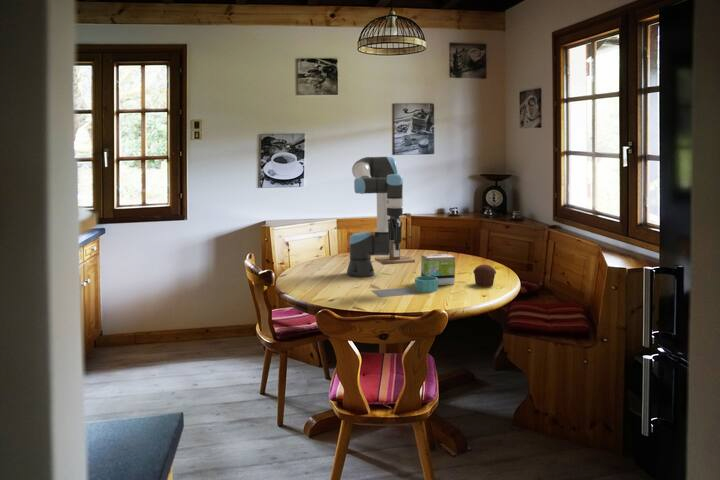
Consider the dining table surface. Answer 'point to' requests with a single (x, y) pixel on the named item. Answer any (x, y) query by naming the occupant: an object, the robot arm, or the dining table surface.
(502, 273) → the dining table surface
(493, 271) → the muffin
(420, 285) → the teal bowl
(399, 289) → the charcoal mat
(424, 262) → the tea box
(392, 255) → the walnut lid
